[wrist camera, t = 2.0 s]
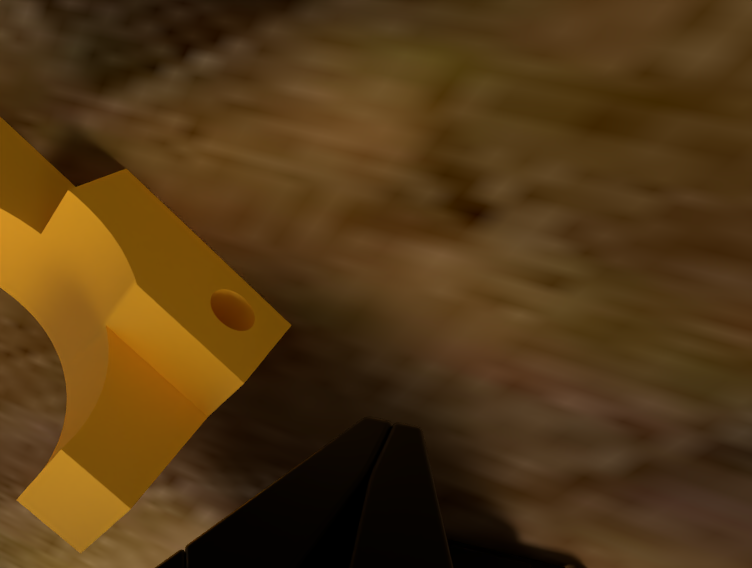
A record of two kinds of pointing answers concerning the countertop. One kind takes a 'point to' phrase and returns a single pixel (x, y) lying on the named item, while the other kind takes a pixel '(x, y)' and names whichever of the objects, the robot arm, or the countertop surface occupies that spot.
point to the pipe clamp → (120, 331)
